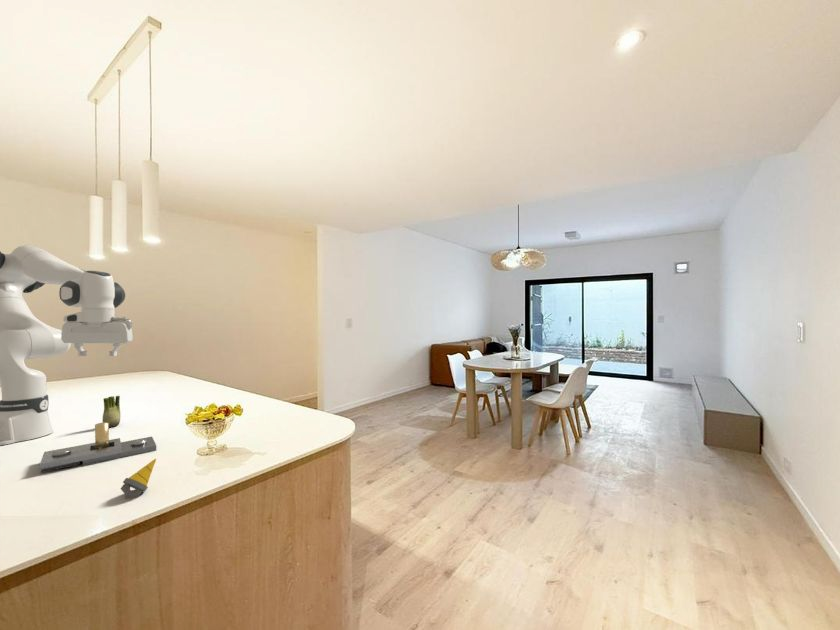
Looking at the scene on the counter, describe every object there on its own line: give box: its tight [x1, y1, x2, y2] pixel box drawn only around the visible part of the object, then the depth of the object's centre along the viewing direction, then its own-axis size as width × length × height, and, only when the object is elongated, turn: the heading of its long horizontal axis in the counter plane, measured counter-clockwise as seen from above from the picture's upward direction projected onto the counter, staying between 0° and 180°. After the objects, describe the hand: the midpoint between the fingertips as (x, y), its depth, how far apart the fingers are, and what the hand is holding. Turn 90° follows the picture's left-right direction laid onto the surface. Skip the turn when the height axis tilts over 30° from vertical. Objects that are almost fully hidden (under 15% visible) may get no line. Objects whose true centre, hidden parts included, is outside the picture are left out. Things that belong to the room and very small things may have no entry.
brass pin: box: [94, 421, 110, 450], centre depth 112 cm, size 3×3×10 cm
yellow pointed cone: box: [120, 458, 157, 500], centre depth 89 cm, size 5×5×10 cm
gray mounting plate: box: [39, 436, 157, 473], centre depth 112 cm, size 26×12×4 cm, turn 132°
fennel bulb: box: [102, 395, 121, 428], centre depth 142 cm, size 6×5×12 cm
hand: (98, 356), depth 128 cm, fingers open, 8 cm apart
